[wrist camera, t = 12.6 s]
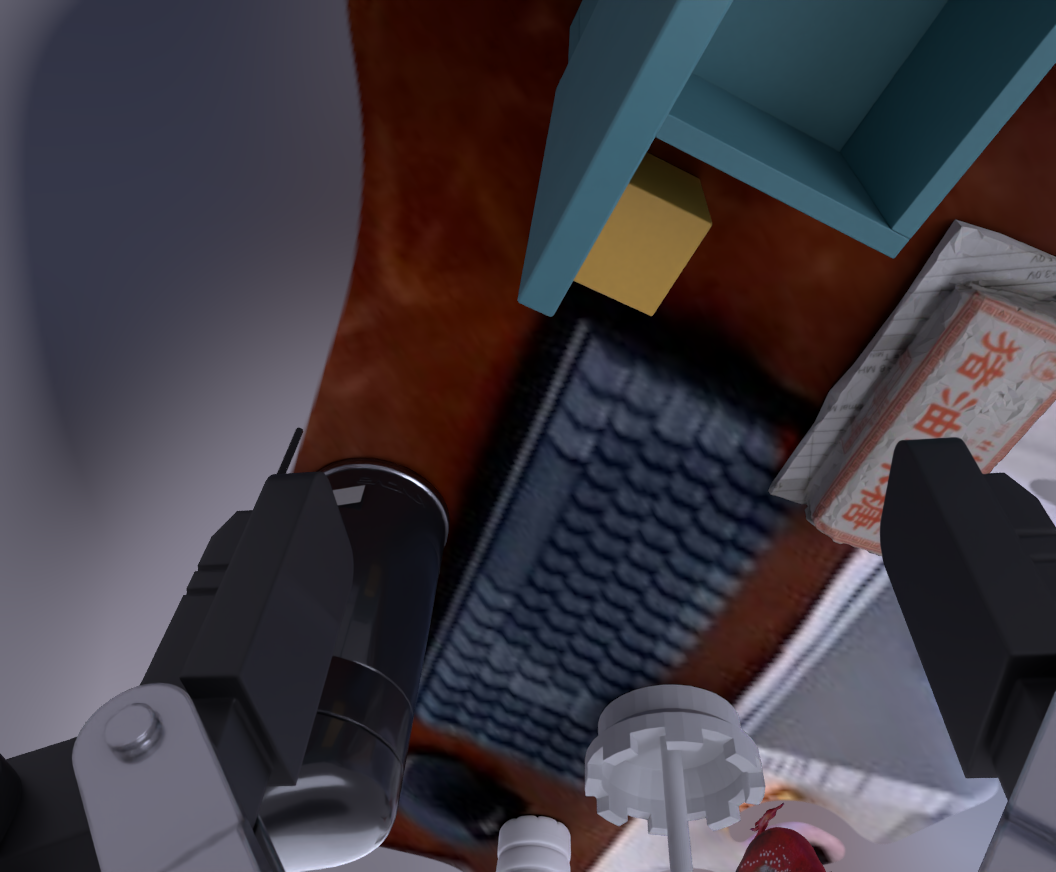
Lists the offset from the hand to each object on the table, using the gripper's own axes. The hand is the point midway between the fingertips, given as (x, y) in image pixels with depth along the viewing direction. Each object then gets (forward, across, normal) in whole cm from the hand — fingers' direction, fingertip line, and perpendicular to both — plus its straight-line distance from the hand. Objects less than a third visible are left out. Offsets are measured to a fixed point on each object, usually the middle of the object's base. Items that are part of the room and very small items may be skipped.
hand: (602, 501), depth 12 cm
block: (+30, -1, +8) cm, 31 cm away
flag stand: (+30, -3, +51) cm, 60 cm away
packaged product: (+30, -17, +20) cm, 40 cm away
